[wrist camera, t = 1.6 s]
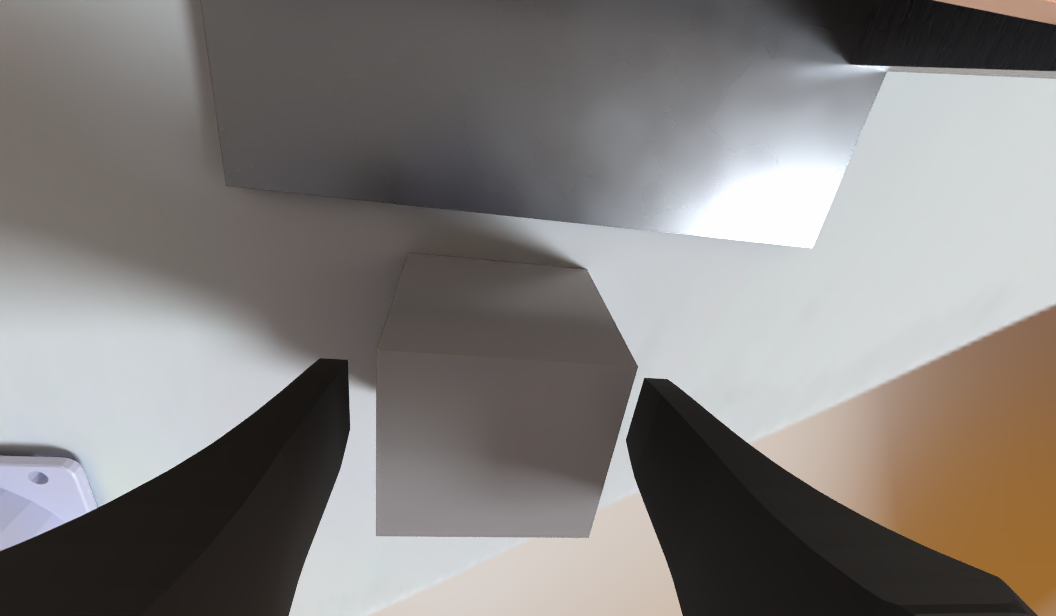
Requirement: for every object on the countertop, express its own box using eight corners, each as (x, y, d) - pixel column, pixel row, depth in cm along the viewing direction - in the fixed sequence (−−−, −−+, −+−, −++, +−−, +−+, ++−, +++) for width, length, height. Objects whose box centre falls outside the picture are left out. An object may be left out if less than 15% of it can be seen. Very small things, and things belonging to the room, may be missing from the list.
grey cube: (403, 399, 16) (376, 536, 11) (408, 251, 13) (376, 350, 9) (557, 406, 16) (588, 537, 12) (586, 268, 14) (637, 366, 10)
